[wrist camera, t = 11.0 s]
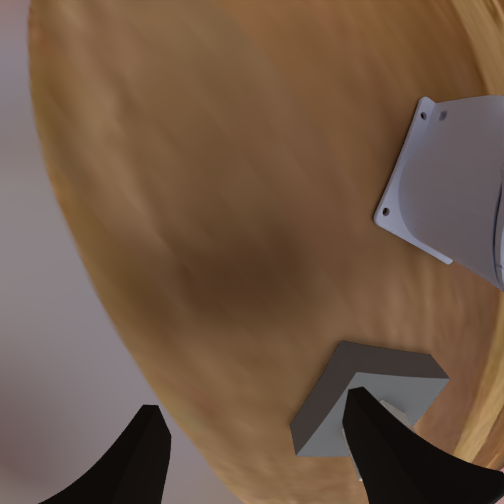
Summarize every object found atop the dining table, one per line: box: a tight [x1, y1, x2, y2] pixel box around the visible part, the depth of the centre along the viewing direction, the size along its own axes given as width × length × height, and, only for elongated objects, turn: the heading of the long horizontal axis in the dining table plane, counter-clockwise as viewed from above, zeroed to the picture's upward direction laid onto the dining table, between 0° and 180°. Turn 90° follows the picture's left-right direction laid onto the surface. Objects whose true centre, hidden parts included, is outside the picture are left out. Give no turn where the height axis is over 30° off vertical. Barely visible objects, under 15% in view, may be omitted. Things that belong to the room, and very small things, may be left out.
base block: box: [290, 341, 450, 457], centre depth 21 cm, size 10×10×4 cm
